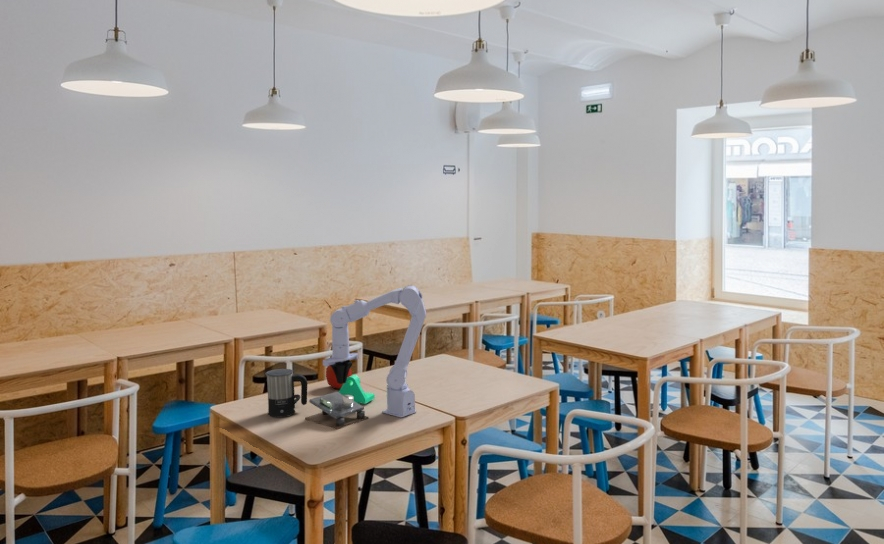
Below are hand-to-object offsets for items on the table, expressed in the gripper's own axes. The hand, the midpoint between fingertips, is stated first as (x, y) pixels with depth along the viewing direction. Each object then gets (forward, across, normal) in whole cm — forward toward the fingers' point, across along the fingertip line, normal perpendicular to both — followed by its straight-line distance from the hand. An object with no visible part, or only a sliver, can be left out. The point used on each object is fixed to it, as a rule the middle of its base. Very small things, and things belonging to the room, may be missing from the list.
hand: (341, 382), depth 229 cm
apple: (+11, -20, -25) cm, 34 cm away
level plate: (+6, +6, +4) cm, 9 cm away
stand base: (+10, +6, +4) cm, 13 cm away
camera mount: (+11, -12, -6) cm, 17 cm away
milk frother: (+11, +11, -18) cm, 24 cm away
